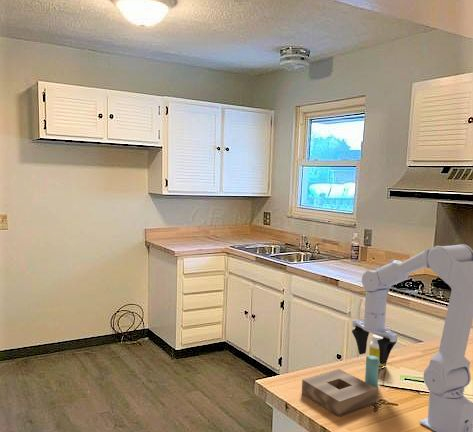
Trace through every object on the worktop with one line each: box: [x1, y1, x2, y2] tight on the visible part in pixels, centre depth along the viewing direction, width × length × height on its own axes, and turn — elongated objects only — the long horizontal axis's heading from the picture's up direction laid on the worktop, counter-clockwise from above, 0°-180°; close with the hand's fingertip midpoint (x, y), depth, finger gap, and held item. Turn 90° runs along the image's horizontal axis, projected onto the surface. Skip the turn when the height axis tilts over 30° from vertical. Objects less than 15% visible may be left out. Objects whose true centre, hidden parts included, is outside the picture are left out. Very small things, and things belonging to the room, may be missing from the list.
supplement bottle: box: [368, 334, 387, 370], centre depth 144 cm, size 5×5×10 cm
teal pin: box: [364, 355, 380, 388], centre depth 131 cm, size 4×4×8 cm
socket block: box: [301, 368, 379, 417], centre depth 123 cm, size 14×14×4 cm
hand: (372, 358), depth 131 cm, fingers open, 7 cm apart
